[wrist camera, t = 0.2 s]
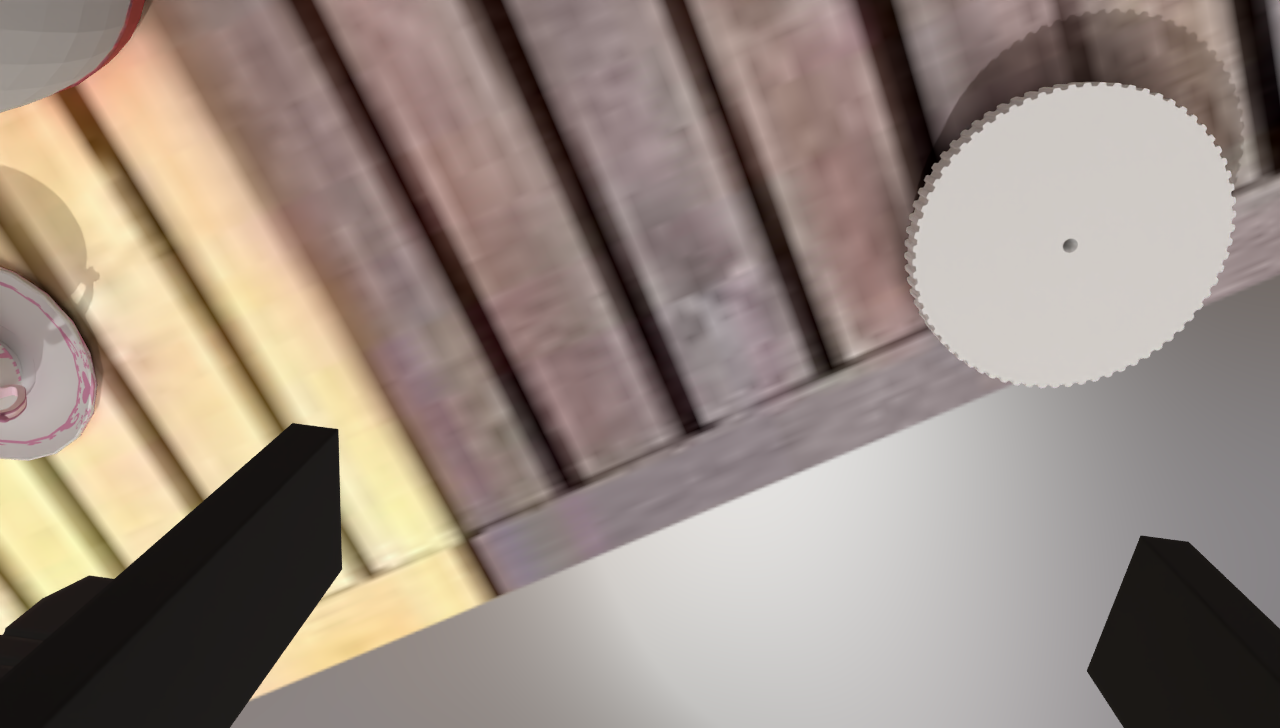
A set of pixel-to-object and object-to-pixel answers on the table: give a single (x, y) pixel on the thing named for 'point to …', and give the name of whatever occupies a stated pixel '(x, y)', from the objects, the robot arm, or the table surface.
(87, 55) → the citrus juicer
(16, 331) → the teacup
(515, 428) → the table surface
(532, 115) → the table surface
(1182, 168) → the plastic lid
